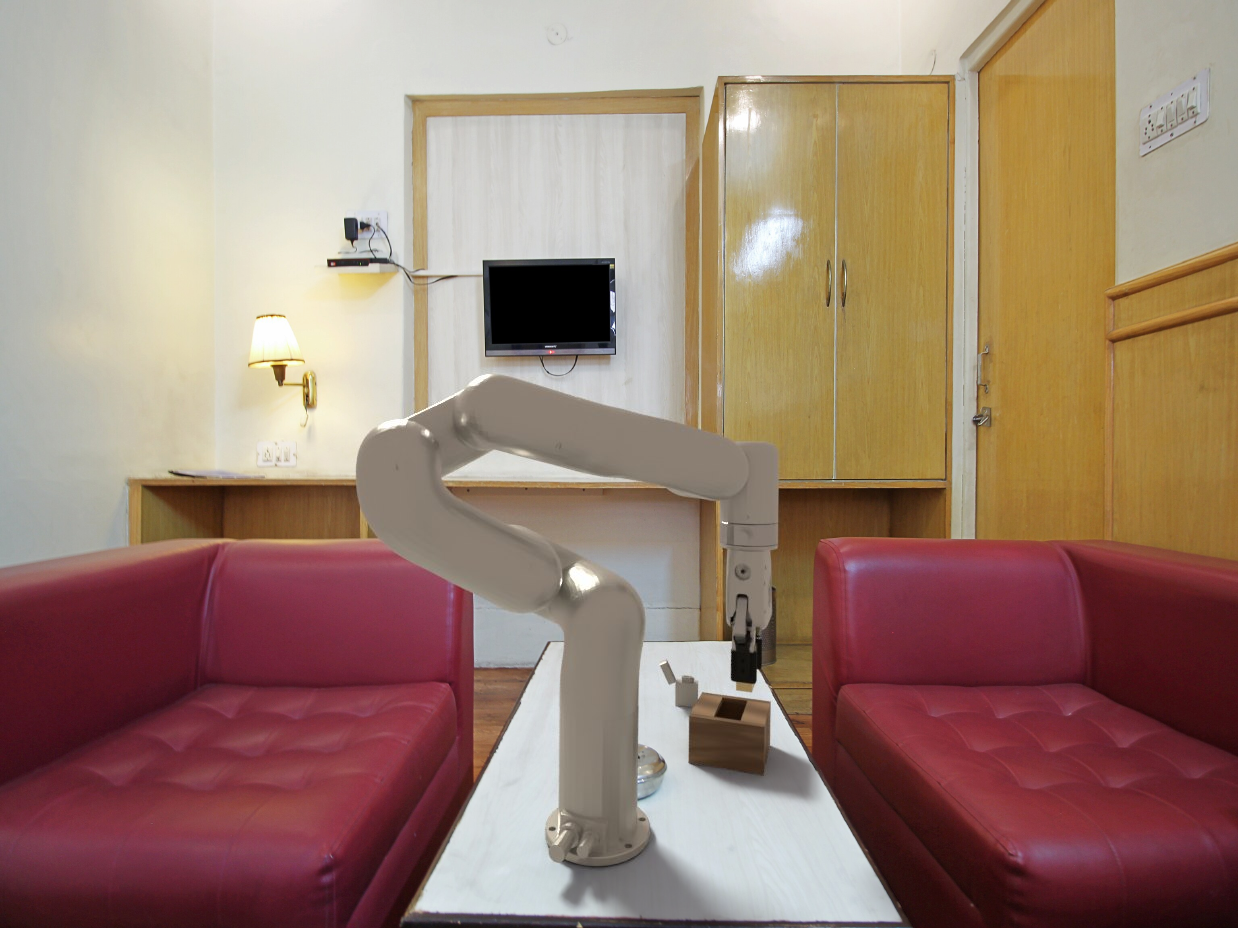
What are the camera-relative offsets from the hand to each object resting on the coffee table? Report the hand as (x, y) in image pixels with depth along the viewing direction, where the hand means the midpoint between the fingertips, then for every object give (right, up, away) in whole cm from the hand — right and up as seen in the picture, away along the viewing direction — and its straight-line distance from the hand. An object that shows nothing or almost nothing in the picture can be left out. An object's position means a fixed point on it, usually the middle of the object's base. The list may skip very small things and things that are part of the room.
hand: (746, 673), depth 81 cm
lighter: (-6, -17, +33) cm, 38 cm away
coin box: (+1, -17, +14) cm, 22 cm away
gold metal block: (0, -1, 0) cm, 1 cm away
